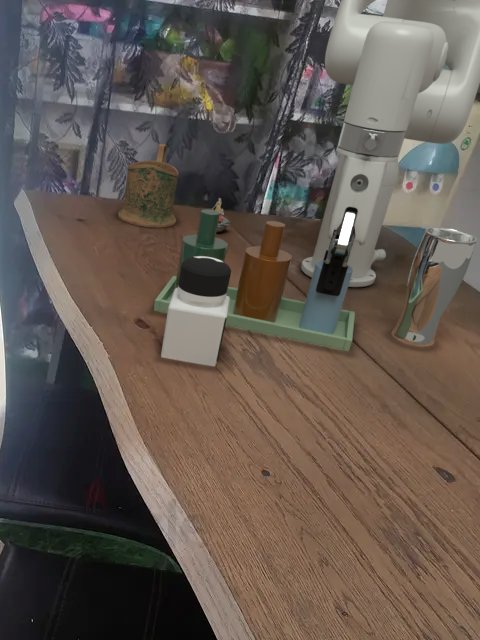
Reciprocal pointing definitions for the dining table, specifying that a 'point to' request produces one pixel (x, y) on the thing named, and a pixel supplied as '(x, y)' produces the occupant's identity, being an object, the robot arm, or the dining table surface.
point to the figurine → (221, 217)
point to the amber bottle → (263, 276)
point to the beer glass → (433, 283)
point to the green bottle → (203, 241)
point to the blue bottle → (323, 304)
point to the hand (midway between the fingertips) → (328, 285)
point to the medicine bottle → (198, 312)
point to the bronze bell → (150, 192)
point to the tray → (277, 321)
